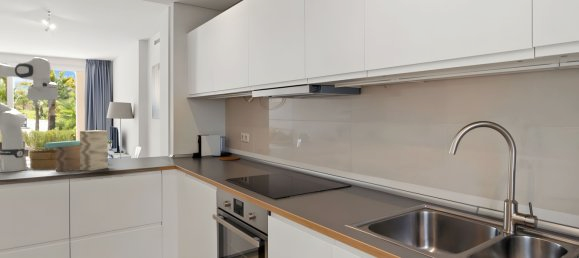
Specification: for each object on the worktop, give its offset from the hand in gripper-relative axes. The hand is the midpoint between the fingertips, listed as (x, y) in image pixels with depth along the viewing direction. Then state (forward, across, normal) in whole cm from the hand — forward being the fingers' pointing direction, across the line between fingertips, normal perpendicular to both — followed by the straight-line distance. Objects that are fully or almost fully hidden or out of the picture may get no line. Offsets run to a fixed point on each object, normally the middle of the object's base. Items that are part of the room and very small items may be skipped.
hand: (43, 107), depth 207 cm
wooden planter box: (+42, -27, +28) cm, 57 cm away
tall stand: (+42, +12, +26) cm, 50 cm away
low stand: (+41, -1, +19) cm, 45 cm away
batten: (+25, -1, +14) cm, 29 cm away
